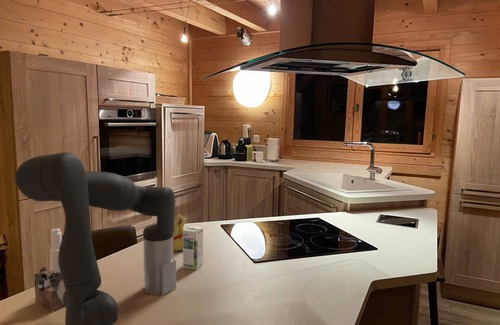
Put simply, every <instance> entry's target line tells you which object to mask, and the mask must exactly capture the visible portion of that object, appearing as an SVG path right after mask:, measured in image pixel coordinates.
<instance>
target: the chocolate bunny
mask: <svg viewBox="0 0 500 325" xmlns="http://www.w3.org/2000/svg"><path fill="white" fill-rule="evenodd" d="M186 222H187V217H184V216H182V215H181V214H179V213H178V214H177V215H176V216H175V217H174V229H173V252H176V251H183V230H184V226H185V225H186Z"/></svg>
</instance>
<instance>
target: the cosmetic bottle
mask: <svg viewBox="0 0 500 325" xmlns="http://www.w3.org/2000/svg"><path fill="white" fill-rule="evenodd" d="M62 237H63V235H62V231H61V229H60V228H52V229H51V233H50V246H51V248H50V249H49V272H50V271H52V270H53V271H60V268H59V262H58V254H59V248H60V244H61V241H62ZM50 288H51V289H53V290H54V287H52V286H50Z"/></svg>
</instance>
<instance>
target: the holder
mask: <svg viewBox="0 0 500 325" xmlns="http://www.w3.org/2000/svg"><path fill="white" fill-rule="evenodd" d="M34 292H35V293H34V294H35V303H37V304H38V305H40V306H41V307H44V308H46V309H48V310H49V311H52V312H56V311H58V310H60V309H62V308H64V307H65V305H64V304H63V303H62V302H61V300H60V299H59V298H58V295H57V293H56V291H55V289H54V290H53V289H51V288H50V286H47V287H45V288H44V290H43V291H39V290H38V288H37V287H36V285H35V284H34ZM65 308H66V307H65Z"/></svg>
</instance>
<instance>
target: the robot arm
mask: <svg viewBox="0 0 500 325" xmlns="http://www.w3.org/2000/svg"><path fill="white" fill-rule="evenodd" d="M14 179H15V180H14V181H15V183H16V186H17V188H18V190H19V191H20V193H22V194H23V195H24V196H26V198H28V199H30V200H33V201H36V202H61V206H62V207H63V213H64V219H65V222H64V223H65V224H64V230H63V234H62V241H61V244H60V248H59V254H58V262H59V268H60V271H53V270H52V271H50V270H49V271H48V269H47V268H46V266H42V267H41V269H39V273H35V274H34V275H33V277H34V286H35V285H36V287H37V288H38V290H39V291H43V290H44V288H45V287H47V286H52V287H54V289H55V291H56V293H57V295H58V298H59V299H60V300H61V302H62V303H63V304H64V305H65V320H64V321H65V322H64V323H65V324H64V325H114V324H115V323H116V322H117V321H118V318H119V315H120V309H119V305H118V303H117V301H116V299H115V298H114V297H113V296H112V295H110V294H109V293H107V292H105V291H103V290H100V289H99V288H100V287H101V285H102V277H101V272H100V270H99V269H100V268H99V265H98V261H97V257H96V254H95V248H94V243H93V238H92V227H91V212H90V211H91V210H90V207H93V208H97V209H98V208H99V209H103V210H108V211H109V210H110V211H115V212H117V211H118V212H120V211H126V210H127V211H132V212H135V213H138V214H140V215H144V216H150V217H157V223H154V224H150V225H148V226H145V227H144V229H143V231H142V238H143V239H142V240H143V242H142V243H143V245H142V246H143V275H144V277H143V278H144V279H143V280H144V291H145V293H147V294H150V295H161V296H164V295H167V294H168V293H169V292H171V291H173V290H174V289H177V260H176V259H174V251H173V229H174V220H175V214H176V213H175V211H176V210H175V209H176V196H175V193H174V192H175V191H174V190H173V189H172V188H170V187H166V186H165V187H163V186H150V185H149V186H148V185H145V186H143V185H141V186H140V185H136V184H135V182H134V181H133V180H131V179H130V178H129V177H126V176H123V175H121V174H117V173H113V172H107V171H92V170H91V171H89V170H88V171H86V169H85V166H84V163H83V162H82V160H81V159H80V158H79V157H78V156H77V155H76V154H74V153H71V152H60V153H51V154H45V155H38V156H35V157H31V158H29V159H27V160H25V161H24V162H22V163H21V164H20V165H19V167H17V169H16V171H15V176H14Z"/></svg>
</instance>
